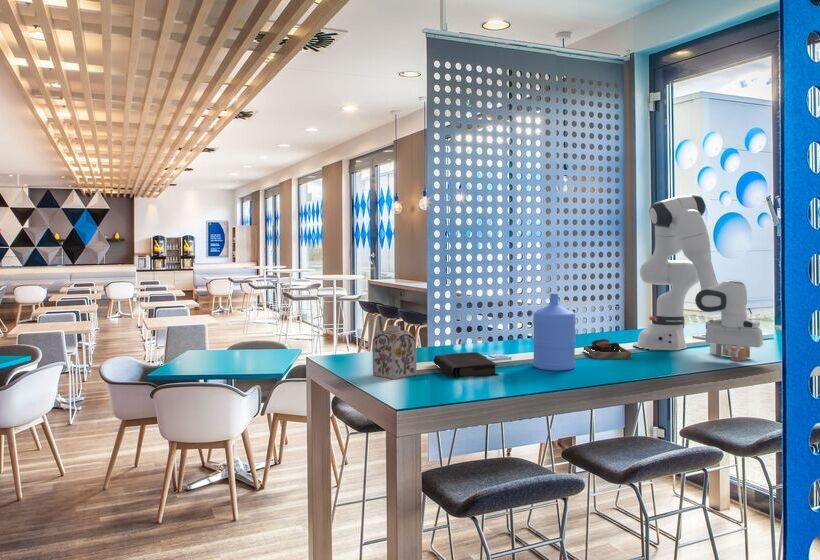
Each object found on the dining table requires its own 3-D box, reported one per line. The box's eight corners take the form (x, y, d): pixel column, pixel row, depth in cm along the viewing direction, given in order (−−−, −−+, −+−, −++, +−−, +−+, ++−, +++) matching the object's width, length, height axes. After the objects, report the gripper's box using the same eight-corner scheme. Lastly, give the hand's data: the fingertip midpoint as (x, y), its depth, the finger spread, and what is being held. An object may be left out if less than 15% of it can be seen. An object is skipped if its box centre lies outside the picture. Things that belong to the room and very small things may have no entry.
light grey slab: (717, 356, 261) (717, 334, 260) (709, 352, 269) (709, 331, 268) (721, 356, 261) (721, 334, 260) (713, 352, 269) (713, 331, 268)
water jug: (576, 371, 232) (576, 295, 231) (532, 370, 235) (532, 295, 234) (574, 363, 247) (574, 292, 246) (533, 362, 251) (533, 292, 249)
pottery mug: (590, 359, 260) (587, 340, 264) (595, 365, 268) (592, 347, 272) (620, 353, 256) (616, 334, 259) (624, 360, 263) (621, 341, 267)
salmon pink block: (742, 360, 250) (743, 348, 250) (730, 359, 253) (731, 347, 253) (745, 359, 253) (745, 346, 253) (733, 358, 256) (733, 345, 256)
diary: (451, 380, 223) (450, 366, 223) (433, 367, 248) (433, 354, 248) (501, 376, 227) (500, 362, 227) (478, 364, 252) (478, 351, 251)
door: (722, 355, 260) (722, 338, 260) (723, 354, 262) (724, 337, 261) (749, 357, 254) (749, 340, 253) (750, 357, 255) (750, 339, 255)
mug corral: (593, 358, 258) (593, 352, 258) (583, 351, 275) (583, 345, 275) (631, 358, 257) (631, 352, 257) (619, 351, 275) (619, 345, 274)
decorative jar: (371, 375, 230) (371, 326, 229) (395, 370, 238) (394, 323, 237) (394, 380, 221) (393, 329, 220) (417, 375, 229) (417, 325, 228)
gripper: (703, 320, 252) (702, 354, 253) (760, 324, 238) (759, 360, 239) (708, 318, 257) (707, 352, 257) (764, 322, 243) (763, 358, 244)
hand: (733, 356), depth 248 cm, fingers closed
